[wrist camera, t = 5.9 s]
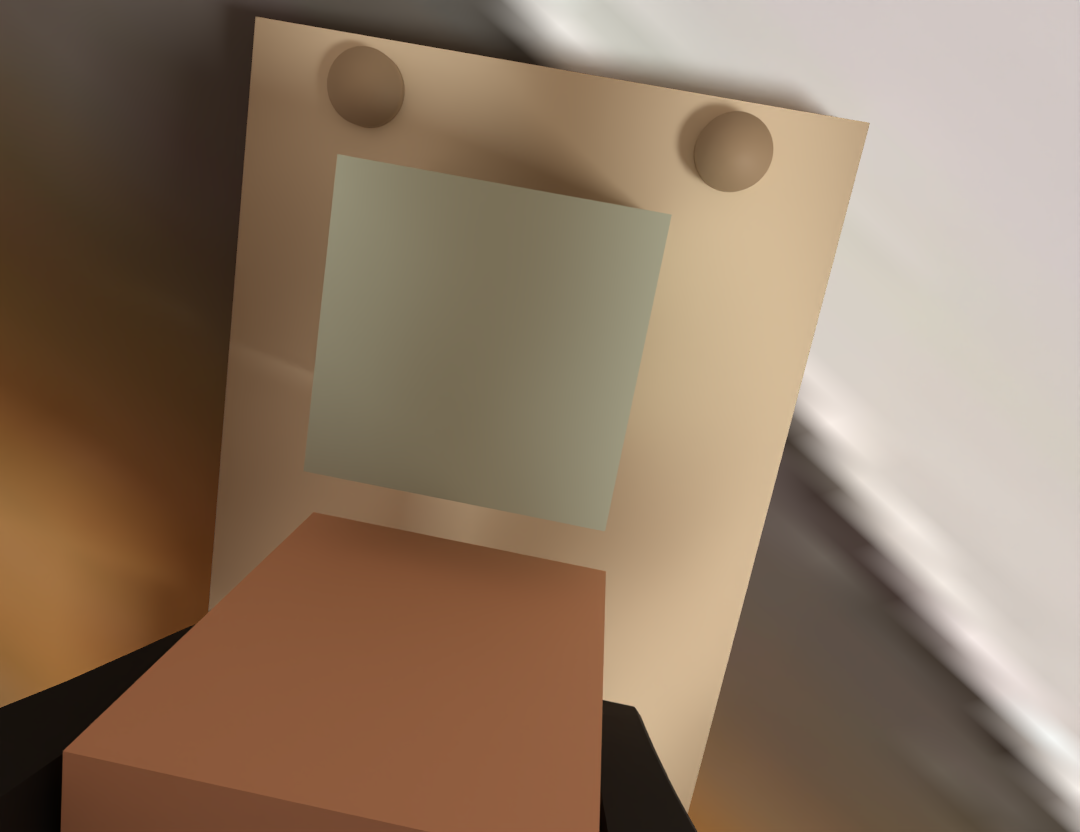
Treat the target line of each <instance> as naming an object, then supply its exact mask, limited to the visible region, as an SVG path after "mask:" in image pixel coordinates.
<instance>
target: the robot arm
mask: <svg viewBox="0 0 1080 832" xmlns="http://www.w3.org/2000/svg"><path fill="white" fill-rule="evenodd" d="M195 625H196V624H195ZM195 625H193V626H190V627H188V628H186V629H183V630H181V631H179V632H176V633H174V634H172V635H169V636H167V637H165V638H163V639H161V640H158V641H156V642H154V643H152V644H149V645H147V646H145V647H143V648H141V649H138V650H136V651H134V652H132V653H130V654H127V655H125V656H123V657H121V658H118V659H116V660H114V661H112V662H109V663H107V664H105V665H102V666H100V667H98V668H96V669H93V670H91V671H89V672H87V673H84V674H82V675H80V676H78V677H75V678H73V679H71V680H68V681H66V682H64V683H61V684H59V685H56V686H54V687H51V688H49V689H46V690H44V691H41V692H39V693H36V694H34V695H31V696H29V697H26V698H24V699H21V700H19V701H16V702H14V703H11V704H9V705H6V706H4V707H1V708H0V832H61V801H62V766H63V751H64V750H65V749H66V748H67V747H68V746H69V745H70V744H71V743H72V742H73V741H74V740H75V739H76V738H77V737H78V736H79V735H80V734H81V733H82V732H83V731H85V730H86V729H87V728H88V727H89V726H90V725H91V724H92V723H93V722H94V721H95V720H96V719H97V718H98V717H99V716H100V715H101V714H102V713H103V712H104V711H105V710H107V709H108V708H109V707H110V706H111V705H112V704H113V703H114V702H115V701H116V700H117V699H118V698H119V697H120V696H121V695H122V694H123V693H124V692H125V691H126V690H128V689H129V688H130V687H131V686H132V685H133V684H134V683H135V682H136V681H137V680H138V679H139V678H140V677H141V676H142V675H143V674H144V673H145V672H146V671H147V670H148V669H150V668H151V667H152V666H153V665H154V664H155V663H156V662H157V661H158V660H159V659H160V658H161V657H162V656H163V655H164V654H165V653H166V652H167V651H168V650H169V649H171V648H172V647H173V646H174V645H175V644H176V643H177V642H178V641H179V640H180V639H181V638H182V637H183V636H184V635H185V634H186V633H187V632H188V631H189V630H190V629H191V628H193V627H194V626H195ZM599 832H697V830H696V829H695V827H694V825H693V823H692V821H691V819H690V818H689V816H688V814H687V812H686V810H685V808H684V807H683V805H682V803H681V801H680V799H679V797H678V795H677V793H676V791H675V790H674V788H673V786H672V784H671V782H670V780H669V778H668V775H667V773H666V771H665V769H664V767H663V765H662V763H661V761H660V759H659V757H658V755H657V752H656V750H655V748H654V746H653V744H652V741H651V739H650V737H649V734H648V732H647V730H646V727H645V725H644V723H643V720H642V718H641V716H640V714H639V713H638V711H637V709H636V708H635V707H634V706H629V705H625V704H620V703H615V702H610V701H606V700H603V705H602V745H601V784H600V823H599Z"/></svg>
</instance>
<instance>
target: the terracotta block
mask: <svg viewBox="0 0 1080 832" xmlns="http://www.w3.org/2000/svg"><path fill="white" fill-rule="evenodd" d="M605 587H606V571H603V570H598V569H593V568H588V567H583V566H578V565H573V564H568V563H563V562H558V561H553V560H548V559H543V558H538V557H533V556H528V555H523V554H519V553H514V552H509V551H504V550H499V549H494V548H489V547H484V546H479V545H474V544H469V543H464V542H459V541H454V540H449V539H444V538H439V537H435V536H430V535H425V534H420V533H415V532H410V531H405V530H400V529H395V528H390V527H385V526H380V525H375V524H370V523H365V522H360V521H355V520H351V519H346V518H341V517H336V516H331V515H326V514H321V513H316V512H313V513H312V514H311V515H310V516H309V517H308V518H307V519H306V520H305V521H304V522H303V523H302V524H301V525H299V526H298V527H297V528H296V529H295V530H294V531H293V532H292V533H291V534H290V535H289V536H288V537H287V538H286V539H285V540H284V541H283V542H282V543H281V544H280V545H279V546H277V547H276V548H275V549H274V550H273V551H272V552H271V553H270V554H269V555H268V556H267V557H266V558H265V559H264V560H263V561H262V562H261V563H260V564H259V565H258V566H256V567H255V568H254V569H253V570H252V571H251V572H250V573H249V574H248V575H247V576H246V577H245V578H244V579H243V580H242V581H241V582H240V583H239V584H238V585H237V586H236V587H234V588H233V589H232V590H231V591H230V592H229V593H228V594H227V595H226V596H225V597H224V598H223V599H222V600H221V601H220V602H219V603H218V604H217V605H216V606H215V607H214V608H212V609H211V610H210V611H209V612H208V613H207V614H206V615H205V616H204V617H203V618H202V619H201V620H200V621H199V622H198V623H197V624H196V625H195V626H194V627H193V628H191V629H190V630H189V631H188V632H187V633H186V634H185V635H184V636H183V637H182V638H181V639H180V640H179V641H178V642H177V643H176V644H175V645H174V646H173V647H172V648H171V649H169V650H168V651H167V652H166V653H165V654H164V655H163V656H162V657H161V658H160V659H159V660H158V661H157V662H156V663H155V664H154V665H153V666H152V667H151V668H150V669H148V670H147V671H146V672H145V673H144V674H143V675H142V676H141V677H140V678H139V679H138V680H137V681H136V682H135V683H134V684H133V685H132V686H131V687H130V688H129V689H128V690H126V691H125V692H124V693H123V694H122V695H121V696H120V697H119V698H118V699H117V700H116V701H115V702H114V703H113V704H112V705H111V706H110V707H109V708H108V709H107V710H105V711H104V712H103V713H102V714H101V715H100V716H99V717H98V718H97V719H96V720H95V721H94V722H93V723H92V724H91V725H90V726H89V727H88V728H87V729H86V730H85V731H83V732H82V733H81V734H80V735H79V736H78V737H77V738H76V739H75V740H74V741H73V742H72V743H71V744H70V745H69V746H68V747H67V748H66V749H65V750H64V751H63V766H62V801H61V832H599V823H600V784H601V745H602V705H603V666H604V626H605Z"/></svg>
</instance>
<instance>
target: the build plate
mask: <svg viewBox="0 0 1080 832" xmlns="http://www.w3.org/2000/svg"><path fill="white" fill-rule="evenodd" d="M869 124H870V123H867V122H861V121H855V120H849V119H844V118H838V117H832V116H826V115H820V114H815V113H809V112H803V111H797V110H792V109H786V108H780V107H774V106H769V105H763V104H757V103H751V102H745V101H740V100H734V99H728V98H722V97H717V96H711V95H705V94H699V93H694V92H688V91H682V90H676V89H670V88H665V87H659V86H653V85H647V84H642V83H636V82H630V81H624V80H619V79H613V78H607V77H601V76H595V75H590V74H584V73H578V72H572V71H567V70H561V69H555V68H549V67H544V66H538V65H532V64H526V63H520V62H515V61H509V60H503V59H497V58H492V57H486V56H480V55H474V54H469V53H463V52H457V51H451V50H445V49H440V48H434V47H428V46H422V45H417V44H411V43H405V42H399V41H394V40H388V39H382V38H376V37H370V36H365V35H359V34H353V33H347V32H342V31H336V30H330V29H324V28H318V27H313V26H307V25H301V24H295V23H290V22H284V21H278V20H272V19H267V18H261V17H256V18H255V31H254V43H253V56H252V69H251V81H250V94H249V106H248V119H247V132H246V144H245V157H244V169H243V182H242V194H241V207H240V220H239V232H238V245H237V257H236V270H235V282H234V295H233V308H232V320H231V333H230V345H229V358H228V370H227V383H226V396H225V408H224V421H223V433H222V446H221V458H220V471H219V484H218V496H217V509H216V521H215V534H214V547H213V559H212V572H211V584H210V597H209V609H208V612H209V611H210V610H211V609H212V608H214V607H215V606H216V605H217V604H218V603H219V602H220V601H221V600H222V599H223V598H224V597H225V596H226V595H227V594H228V593H229V592H230V591H231V590H232V589H233V588H234V587H236V586H237V585H238V584H239V583H240V582H241V581H242V580H243V579H244V578H245V577H246V576H247V575H248V574H249V573H250V572H251V571H252V570H253V569H254V568H255V567H256V566H258V565H259V564H260V563H261V562H262V561H263V560H264V559H265V558H266V557H267V556H268V555H269V554H270V553H271V552H272V551H273V550H274V549H275V548H276V547H277V546H279V545H280V544H281V543H282V542H283V541H284V540H285V539H286V538H287V537H288V536H289V535H290V534H291V533H292V532H293V531H294V530H295V529H296V528H297V527H298V526H299V525H301V524H302V523H303V522H304V521H305V520H306V519H307V518H308V517H309V516H310V515H311V514H312V513H313V512H316V513H321V514H326V515H331V516H336V517H341V518H346V519H351V520H355V521H360V522H365V523H370V524H375V525H380V526H385V527H390V528H395V529H400V530H405V531H410V532H415V533H420V534H425V535H430V536H435V537H439V538H444V539H449V540H454V541H459V542H464V543H469V544H474V545H479V546H484V547H489V548H494V549H499V550H504V551H509V552H514V553H519V554H523V555H528V556H533V557H538V558H543V559H548V560H553V561H558V562H563V563H568V564H573V565H578V566H583V567H588V568H593V569H598V570H603V571H606V587H605V626H604V666H603V700H606V701H610V702H615V703H620V704H625V705H629V706H634V707H635V708H636V709H637V711H638V713H639V714H640V716H641V718H642V720H643V723H644V725H645V727H646V730H647V732H648V734H649V737H650V739H651V741H652V744H653V746H654V748H655V750H656V752H657V755H658V757H659V759H660V761H661V763H662V765H663V767H664V769H665V771H666V773H667V775H668V778H669V780H670V782H671V784H672V786H673V788H674V790H675V791H676V793H677V795H678V797H679V799H680V801H681V803H682V805H683V807H684V808H685V810H686V812H687V814H688V810H689V806H690V802H691V799H692V795H693V791H694V787H695V783H696V780H697V776H698V772H699V768H700V764H701V761H702V757H703V753H704V749H705V746H706V742H707V738H708V734H709V730H710V727H711V723H712V719H713V715H714V711H715V708H716V704H717V700H718V696H719V692H720V689H721V685H722V681H723V677H724V674H725V670H726V666H727V662H728V658H729V655H730V651H731V647H732V643H733V639H734V636H735V632H736V628H737V624H738V620H739V617H740V613H741V609H742V605H743V601H744V598H745V594H746V590H747V586H748V583H749V579H750V575H751V571H752V567H753V564H754V560H755V556H756V552H757V548H758V545H759V541H760V537H761V533H762V529H763V526H764V522H765V518H766V514H767V511H768V507H769V503H770V499H771V495H772V492H773V488H774V484H775V480H776V476H777V473H778V469H779V465H780V461H781V457H782V454H783V450H784V446H785V442H786V439H787V435H788V431H789V427H790V423H791V420H792V416H793V412H794V408H795V404H796V401H797V397H798V393H799V389H800V385H801V382H802V378H803V374H804V370H805V367H806V363H807V359H808V355H809V351H810V348H811V344H812V340H813V336H814V332H815V329H816V325H817V321H818V317H819V313H820V310H821V306H822V302H823V298H824V295H825V291H826V287H827V283H828V279H829V276H830V272H831V268H832V264H833V260H834V257H835V253H836V249H837V245H838V241H839V238H840V234H841V230H842V226H843V222H844V219H845V215H846V211H847V207H848V204H849V200H850V196H851V192H852V188H853V185H854V181H855V177H856V173H857V169H858V166H859V162H860V158H861V154H862V150H863V147H864V143H865V139H866V135H867V132H868V128H869Z"/></svg>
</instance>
